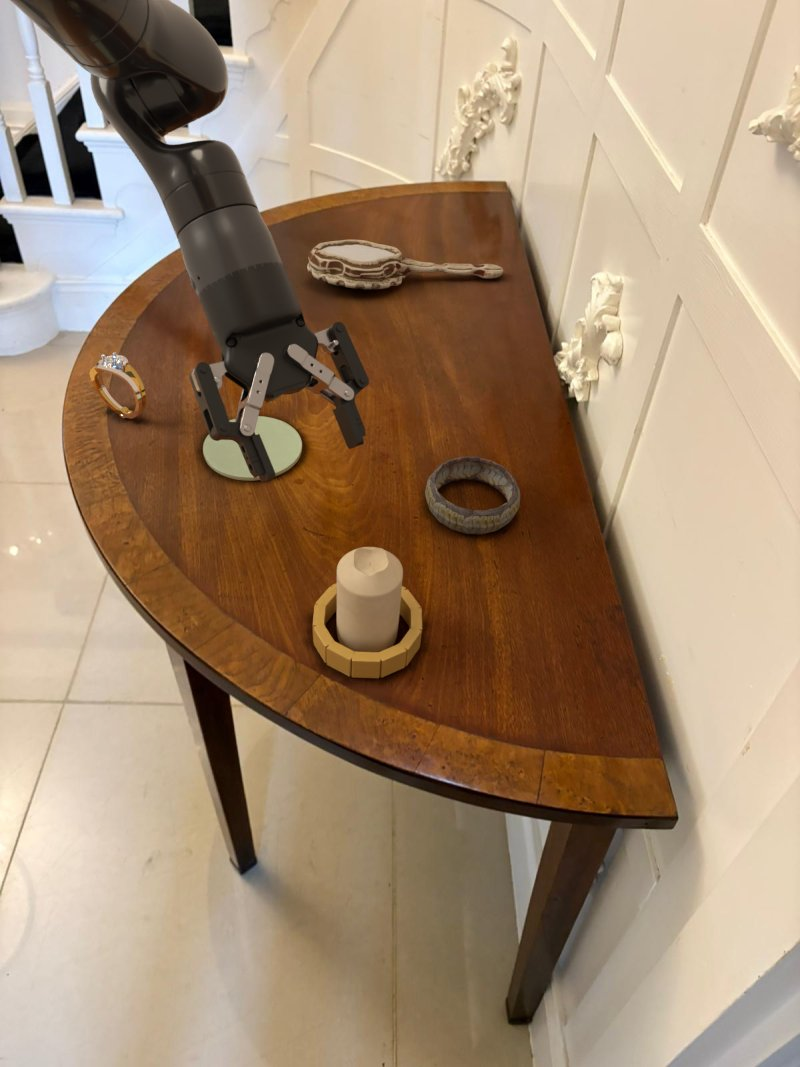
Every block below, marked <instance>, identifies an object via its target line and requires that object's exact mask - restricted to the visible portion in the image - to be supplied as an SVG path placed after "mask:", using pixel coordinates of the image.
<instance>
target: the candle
mask: <svg viewBox="0 0 800 1067" xmlns="http://www.w3.org/2000/svg"><path fill="white" fill-rule="evenodd" d="M403 577H404V569H403V565H402V563H401V561H400V560H399V558H398V557H397V556H396V555H394V554H393V553H391V552H390V551H388V550H385V549H384V548H382V547H376V546H362V547H357V548H355V549H353V550H351V551H349V552H347V553H345V554H344V555H343V556H342V557H341V558H340V560H339V561H338V564H337V566H336V583H337V611H336V636H337V639H338V643H339V644H341V645H343V646H345V647H347V648H349V649H351V650H353V651H355V652H381V651H383V650H385V649H388V648H390V647H392V646H395V644H396V641H397V639H398V634H399V623H400V601H401V590H402V586H403V579H404V578H403Z"/></svg>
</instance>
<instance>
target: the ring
mask: <svg viewBox="0 0 800 1067" xmlns="http://www.w3.org/2000/svg"><path fill="white" fill-rule="evenodd" d="M100 357H101V359H100V360H98V361H97V362H96V364H95V365H94V366H93V367H92V368H91V369H90V370H89V372H88V374H89V379H90V381H91V383H92V385H93V387H94V389H95V391H96V392H97V394H98V395H99V397H100V399H102V401H103V402H104V403H105V404H106V405H107V406H108V407H109V408H110V409H111V410H112V411H113V412H114V413H116V414H117V415H118V416H119V417H120V418H121V419H129V420H130V419H134V418H136V417H138V416H140V415H141V414H142V413H143V412H144V411H145V408H146V405H147V394H146V390H145V386H144V383H143V381H142V378H141V376H140V375H139V374H138V372H137V371H136V369H134V367H133V366H131V365H130V364H129V360H128V358H127V357H126V356H124V355H121V354H117V352H116V351H114V352H112V355H107V356H106V354H104V353H102V354H101V355H100ZM104 372H105V373H109V374H111V375H114V376H116V377H118V378H120V379H121V380H122V381H123V382H124V383H126V385H127V386H128V387H129V389H130V391H131V392H132V394H133V397H134V400H135V408H134V410H130V409H129V408H128V407H127V406H122V405H120V404H119V402H117V401H116V400H115V399H114V398H113V396H112V395H111V394H110V393H109V391H108V390H107V388H106V386H105V383H104V381H103V380H104V379H103V373H104Z"/></svg>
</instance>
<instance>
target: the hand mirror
mask: <svg viewBox="0 0 800 1067" xmlns="http://www.w3.org/2000/svg"><path fill="white" fill-rule="evenodd" d="M307 258H308V263H307V266H306V269H307V272H308V273H309V274H311V275H312V277H313V278H314V279H316V280H318V281H322V282H326V283H328V284H330V285H333V286H339V287H345V288H349V289H363V290H384V289H388V288H390V287H392V286H395V287H397V286H400V285H401V284H402V282H403V280H405V278H406V277H407V276H408V275H412V274H426V273H427V274H428V273H429V274H433V273H445V274H448V275H457V276H470V275H471V276H472V275H473V276H477V277H479V278H481V279H485V280H488V279H497V278H499V277H501V276H503V273H504V269H503V267H502V266H500V265H497V264H493V263H482V264H481V263H480V264H472V263H451V262H444V263H442V264H436V263H435V262H429V261H427V262H426V261H419V260H415V259H412V258H408V257H405V256H403V253H402V252H401V251H400V249H399V248H398V247H395V246H393V245H387V244H382V243H381V244H379V243H377V242H372V241H369V240H365V239H364V240H362V239H342V240H341V239H340V240H332V241H325V242H320V243H318V244H317V245H315V246H314V247H313V248H312V249H311V251H310V252H309V254H308V256H307Z"/></svg>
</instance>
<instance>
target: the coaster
mask: <svg viewBox="0 0 800 1067" xmlns="http://www.w3.org/2000/svg"><path fill="white" fill-rule="evenodd" d="M235 420H236V418H232V419H229V422H235ZM254 432H255V435H257V434H260V437H261V439H262V442H263V444H264V446H265V449H266V451H267V454H268V456H269V459H270V461H271V464H272V466H273V468H274V471H275V474H276V477H277V476H280V475H282V474H284V473H286V472H287V471H289V470H291V469H292V468H293V467H294V466H295V465H296V464H297V463H298V461H299V460H300V458H301V456H302V452H303V442H302V438H301V435H300V434H299V433H298V431H297V430H296V429H295V428H294V427H293V426H291V425H290V424H289V423H287V422H285V421H283V420H280V419H278V418H274V417H269V416H263V415H258V419H257V423H256V427H255V431H254ZM202 454H203V458H204V460H205V463H207V465H208V467H209V468H210V469H212V470H213V471H214V472H216V473H217V474H219V475H221V476H223V477H226V478H227V479H228V478H229V479H232V480H237V481H245V482H246V481H247V482H254V481H261V480H260V478H259V476H258V477H255V478H254V477H253V475H252V474H251V473H250V471H249V469H248V466H247V464H246V461H245V459H244V457H243V455H242V452H241V450H240V447H239V445H238V444H237V443H236V442H235V441H233V440H219V441H215V440H213V439H212V438H211V437H210V435H209V433H208V435H207V436H206V437H205V439H204V441H203V445H202Z"/></svg>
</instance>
